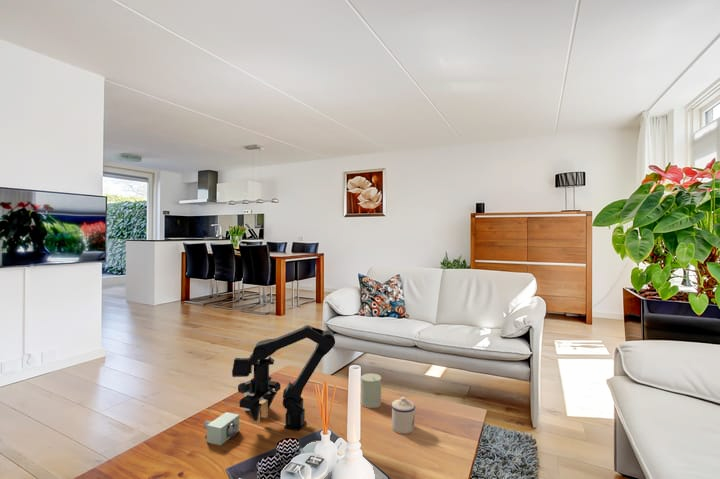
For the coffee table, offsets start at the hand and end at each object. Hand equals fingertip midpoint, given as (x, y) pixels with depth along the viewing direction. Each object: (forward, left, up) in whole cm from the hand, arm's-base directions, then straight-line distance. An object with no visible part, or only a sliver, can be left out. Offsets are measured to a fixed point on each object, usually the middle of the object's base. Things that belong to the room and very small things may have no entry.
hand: (260, 416), depth 133 cm
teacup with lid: (-51, -20, -5) cm, 55 cm away
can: (-34, -34, -5) cm, 48 cm away
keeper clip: (0, 0, -1) cm, 1 cm away
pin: (+11, +9, -4) cm, 15 cm away
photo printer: (+10, -12, -5) cm, 17 cm away
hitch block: (+9, +9, -4) cm, 14 cm away
